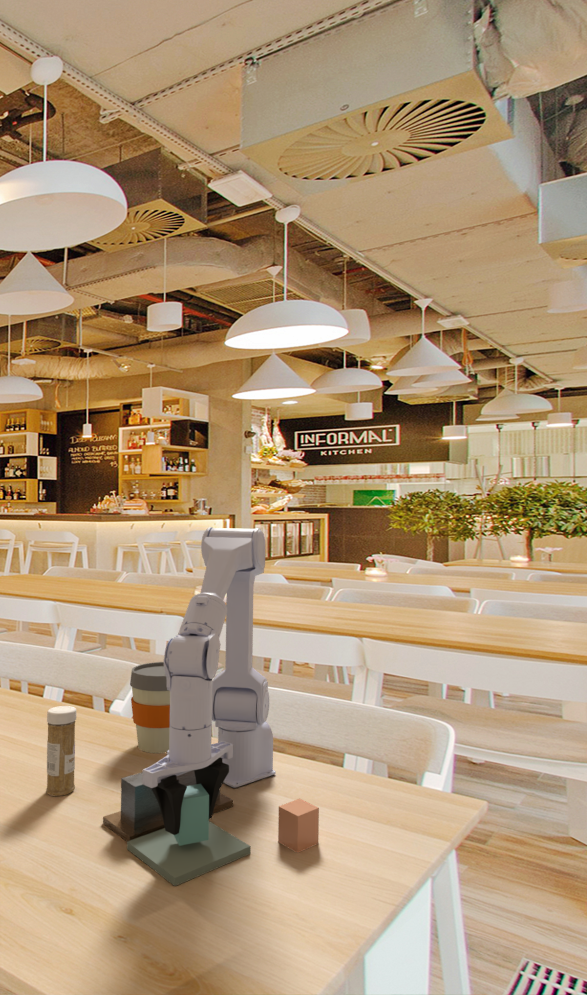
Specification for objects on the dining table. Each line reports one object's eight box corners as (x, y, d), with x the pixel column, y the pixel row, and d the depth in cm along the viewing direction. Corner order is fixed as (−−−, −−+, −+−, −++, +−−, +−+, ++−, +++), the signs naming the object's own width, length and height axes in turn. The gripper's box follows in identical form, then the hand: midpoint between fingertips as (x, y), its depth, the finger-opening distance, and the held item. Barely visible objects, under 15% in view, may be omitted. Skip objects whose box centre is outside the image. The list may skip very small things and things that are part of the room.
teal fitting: (200, 826, 94) (200, 783, 94) (208, 839, 90) (209, 795, 90) (171, 832, 92) (172, 788, 92) (179, 845, 88) (179, 800, 88)
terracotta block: (299, 833, 97) (299, 798, 97) (318, 843, 94) (318, 807, 94) (278, 842, 94) (278, 806, 94) (297, 853, 91) (298, 816, 91)
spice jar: (78, 793, 109) (79, 710, 109) (49, 799, 107) (51, 714, 107) (70, 783, 113) (72, 703, 113) (42, 789, 110) (44, 707, 111)
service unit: (203, 790, 111) (204, 747, 111) (233, 806, 105) (233, 761, 105) (103, 823, 99) (103, 775, 99) (129, 843, 93) (130, 793, 93)
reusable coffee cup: (197, 753, 128) (199, 674, 128) (130, 759, 124) (131, 678, 124) (189, 732, 140) (190, 660, 140) (127, 737, 136) (128, 663, 136)
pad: (199, 822, 100) (199, 815, 100) (250, 853, 91) (250, 846, 91) (126, 849, 92) (127, 841, 92) (174, 886, 83) (175, 877, 83)
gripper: (209, 706, 100) (208, 798, 99) (128, 729, 89) (126, 833, 88) (243, 716, 95) (242, 812, 95) (163, 742, 84) (160, 851, 84)
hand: (188, 824), depth 91 cm, fingers closed on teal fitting, 5 cm apart
